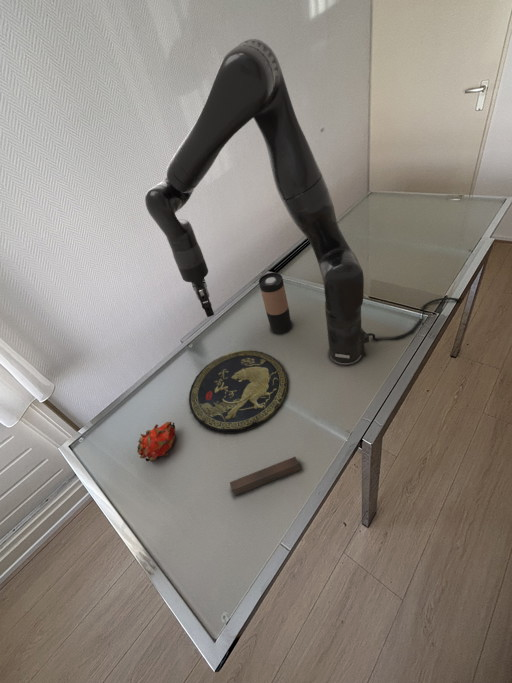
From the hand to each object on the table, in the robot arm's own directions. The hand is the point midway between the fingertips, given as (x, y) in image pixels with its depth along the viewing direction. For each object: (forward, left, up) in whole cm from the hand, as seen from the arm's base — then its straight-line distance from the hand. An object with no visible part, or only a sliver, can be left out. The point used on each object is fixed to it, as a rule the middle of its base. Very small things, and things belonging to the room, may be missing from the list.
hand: (208, 307), depth 97 cm
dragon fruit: (+24, +28, -19) cm, 42 cm away
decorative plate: (0, +18, -19) cm, 26 cm away
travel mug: (-21, -2, -19) cm, 28 cm away
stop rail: (0, +47, -19) cm, 51 cm away
